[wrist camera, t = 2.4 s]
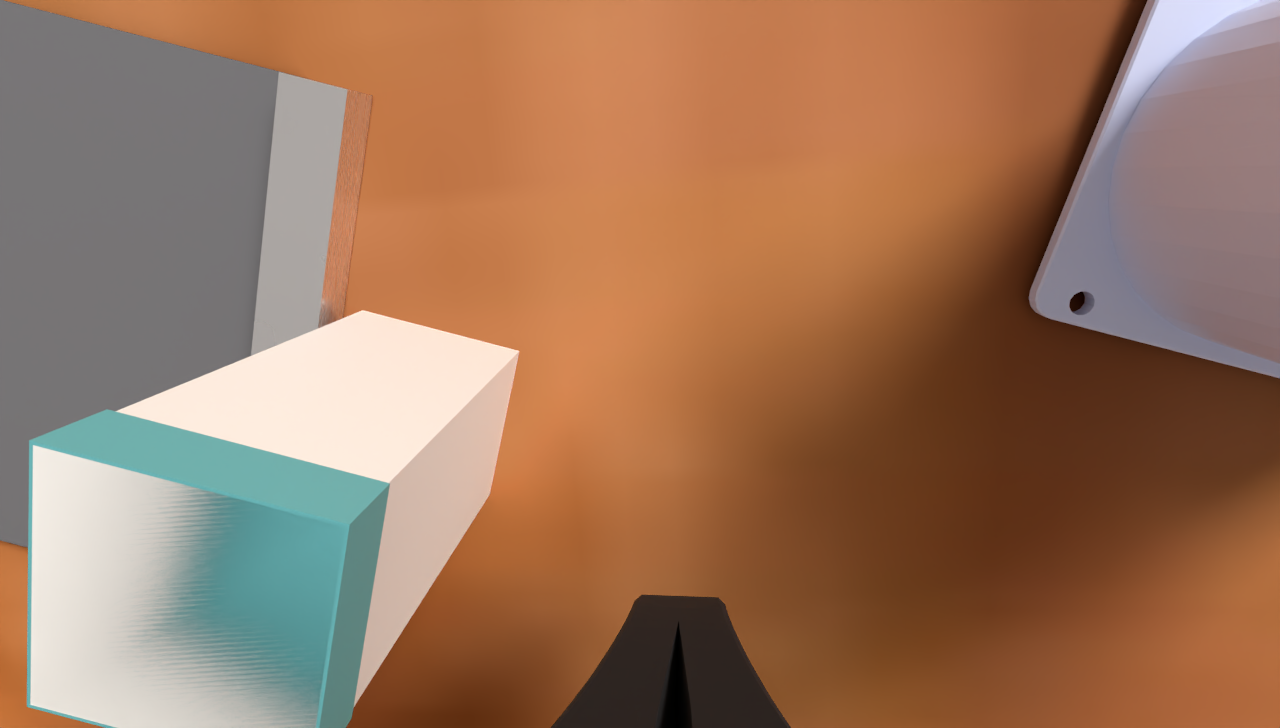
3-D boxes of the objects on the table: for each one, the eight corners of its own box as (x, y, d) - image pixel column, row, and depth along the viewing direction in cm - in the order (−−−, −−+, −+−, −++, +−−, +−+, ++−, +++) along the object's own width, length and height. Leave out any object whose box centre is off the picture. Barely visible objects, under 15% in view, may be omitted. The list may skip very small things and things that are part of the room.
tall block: (521, 349, 17) (349, 524, 9) (491, 496, 18) (311, 782, 10) (361, 307, 17) (29, 440, 9) (340, 457, 18) (26, 706, 10)
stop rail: (372, 95, 16) (347, 89, 15) (303, 612, 20) (279, 639, 19) (308, 79, 16) (279, 72, 15) (252, 598, 20) (224, 625, 19)
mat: (302, 77, 16) (295, 75, 16) (246, 596, 20) (240, 603, 20) (-78, -21, 16) (-92, -24, 16) (-62, 516, 20) (-73, 521, 20)
